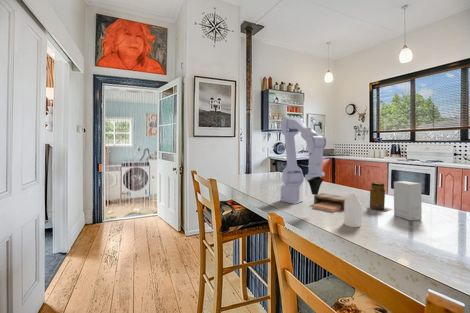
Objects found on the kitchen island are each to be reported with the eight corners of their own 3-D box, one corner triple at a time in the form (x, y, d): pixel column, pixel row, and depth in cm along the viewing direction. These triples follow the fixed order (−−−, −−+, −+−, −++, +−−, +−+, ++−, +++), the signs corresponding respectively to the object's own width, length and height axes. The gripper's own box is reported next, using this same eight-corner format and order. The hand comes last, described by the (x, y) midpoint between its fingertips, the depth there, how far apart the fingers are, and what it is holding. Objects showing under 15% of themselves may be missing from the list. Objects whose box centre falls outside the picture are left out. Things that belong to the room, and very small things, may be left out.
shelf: (314, 204, 123) (314, 195, 123) (321, 201, 129) (321, 192, 128) (344, 210, 113) (344, 200, 112) (350, 206, 118) (351, 197, 118)
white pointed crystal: (343, 194, 92) (346, 191, 96) (342, 225, 92) (345, 221, 97) (361, 195, 88) (363, 193, 93) (360, 228, 89) (362, 224, 94)
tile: (312, 209, 116) (312, 205, 116) (325, 203, 126) (326, 200, 126) (333, 213, 109) (333, 209, 109) (345, 207, 119) (345, 203, 119)
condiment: (372, 205, 121) (373, 181, 120) (391, 209, 114) (392, 183, 114) (365, 208, 116) (366, 183, 115) (385, 212, 110) (386, 185, 109)
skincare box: (421, 220, 98) (423, 183, 97) (408, 221, 97) (410, 184, 96) (404, 214, 106) (406, 180, 106) (392, 214, 106) (393, 180, 105)
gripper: (316, 165, 98) (315, 198, 99) (331, 162, 108) (330, 193, 109) (300, 164, 103) (300, 195, 104) (316, 161, 113) (315, 190, 114)
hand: (314, 194), depth 107 cm, fingers closed
